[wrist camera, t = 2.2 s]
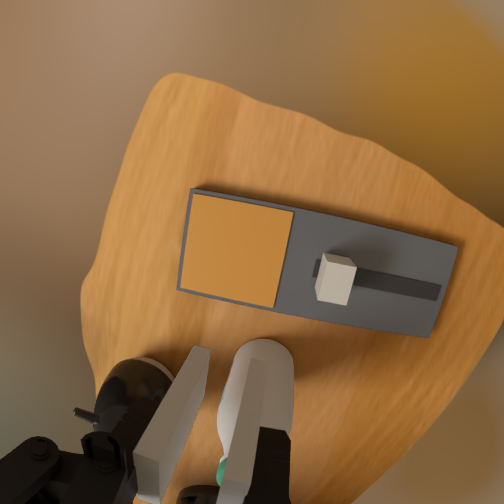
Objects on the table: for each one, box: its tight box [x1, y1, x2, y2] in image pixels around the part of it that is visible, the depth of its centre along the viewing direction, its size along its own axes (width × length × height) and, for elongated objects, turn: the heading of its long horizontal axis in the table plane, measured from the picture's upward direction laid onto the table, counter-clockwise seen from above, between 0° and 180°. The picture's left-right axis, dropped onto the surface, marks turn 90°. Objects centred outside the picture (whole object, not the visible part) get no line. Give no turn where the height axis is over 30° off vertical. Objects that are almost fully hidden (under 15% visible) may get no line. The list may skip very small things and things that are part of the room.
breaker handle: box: [315, 252, 357, 305], centre depth 33 cm, size 4×3×4 cm
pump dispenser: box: [73, 357, 174, 433], centre depth 36 cm, size 10×10×15 cm
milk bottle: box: [216, 339, 294, 486], centre depth 31 cm, size 8×8×20 cm
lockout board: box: [176, 188, 459, 338], centre depth 36 cm, size 12×32×2 cm, turn 80°
